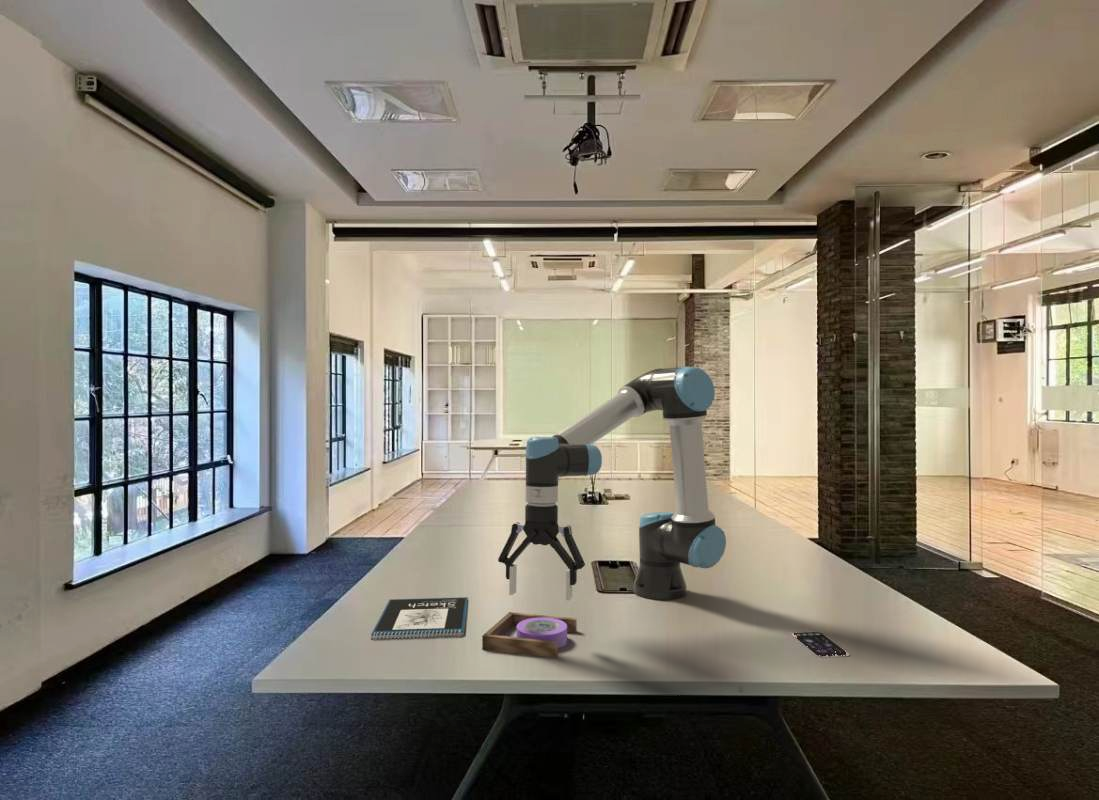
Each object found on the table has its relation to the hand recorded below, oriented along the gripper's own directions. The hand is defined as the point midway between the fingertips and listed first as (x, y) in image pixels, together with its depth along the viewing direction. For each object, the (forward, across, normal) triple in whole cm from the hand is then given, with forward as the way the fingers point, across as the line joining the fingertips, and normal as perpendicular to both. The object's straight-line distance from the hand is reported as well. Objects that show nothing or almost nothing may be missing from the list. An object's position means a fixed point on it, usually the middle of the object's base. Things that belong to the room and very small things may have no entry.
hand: (540, 596), depth 153 cm
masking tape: (+11, 0, 0) cm, 11 cm away
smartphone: (+10, +61, +16) cm, 64 cm away
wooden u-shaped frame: (+10, -2, 0) cm, 11 cm away
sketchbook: (+11, -34, +7) cm, 36 cm away
